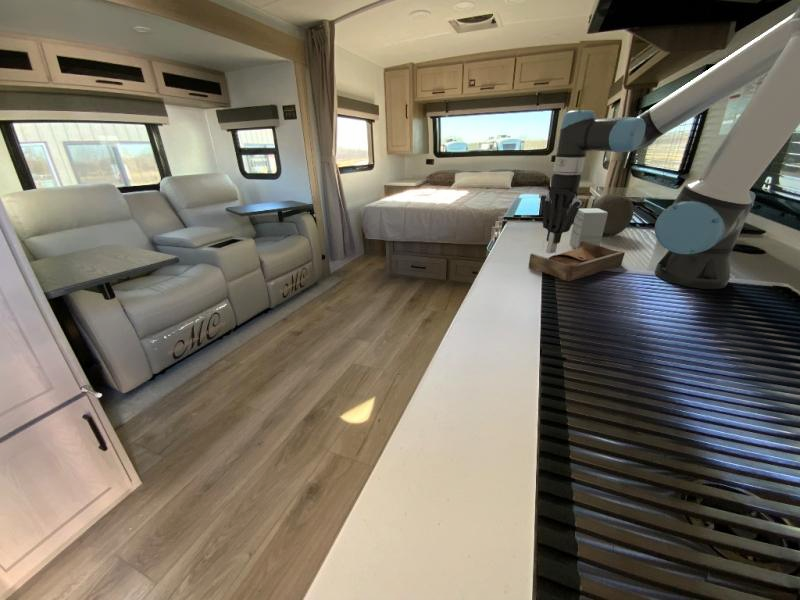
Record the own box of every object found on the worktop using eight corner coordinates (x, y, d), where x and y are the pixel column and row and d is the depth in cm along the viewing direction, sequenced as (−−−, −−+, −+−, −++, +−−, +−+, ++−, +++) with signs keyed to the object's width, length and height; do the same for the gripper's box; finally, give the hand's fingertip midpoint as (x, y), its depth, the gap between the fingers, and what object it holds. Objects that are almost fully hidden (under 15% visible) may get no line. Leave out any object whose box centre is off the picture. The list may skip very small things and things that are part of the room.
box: (621, 265, 98) (625, 252, 96) (568, 281, 88) (571, 267, 86) (579, 253, 109) (582, 241, 107) (528, 266, 99) (530, 253, 97)
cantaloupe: (634, 240, 120) (647, 198, 114) (592, 239, 122) (603, 197, 116) (617, 230, 133) (628, 191, 126) (580, 229, 135) (589, 191, 128)
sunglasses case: (571, 275, 92) (563, 252, 92) (549, 280, 98) (542, 259, 98) (604, 261, 101) (597, 241, 101) (582, 267, 107) (575, 247, 107)
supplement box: (590, 244, 118) (598, 207, 112) (599, 250, 111) (609, 212, 105) (568, 243, 118) (576, 207, 113) (576, 250, 112) (584, 212, 106)
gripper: (539, 171, 97) (526, 248, 108) (579, 176, 87) (560, 260, 98) (556, 170, 100) (541, 245, 111) (596, 174, 90) (576, 256, 101)
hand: (550, 252), depth 104 cm, fingers closed
